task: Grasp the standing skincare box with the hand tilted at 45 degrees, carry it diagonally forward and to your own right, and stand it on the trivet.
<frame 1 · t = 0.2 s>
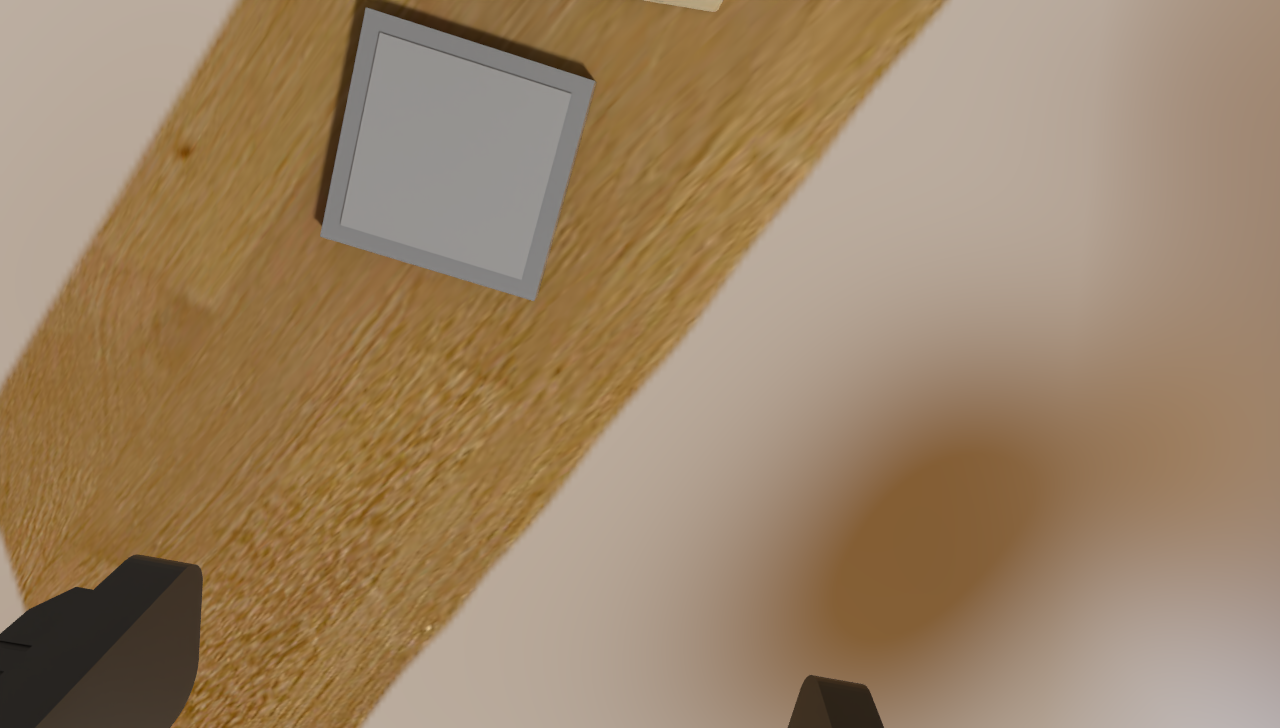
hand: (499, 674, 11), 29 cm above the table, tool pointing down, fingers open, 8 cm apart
trivet: (458, 160, 37), on the table
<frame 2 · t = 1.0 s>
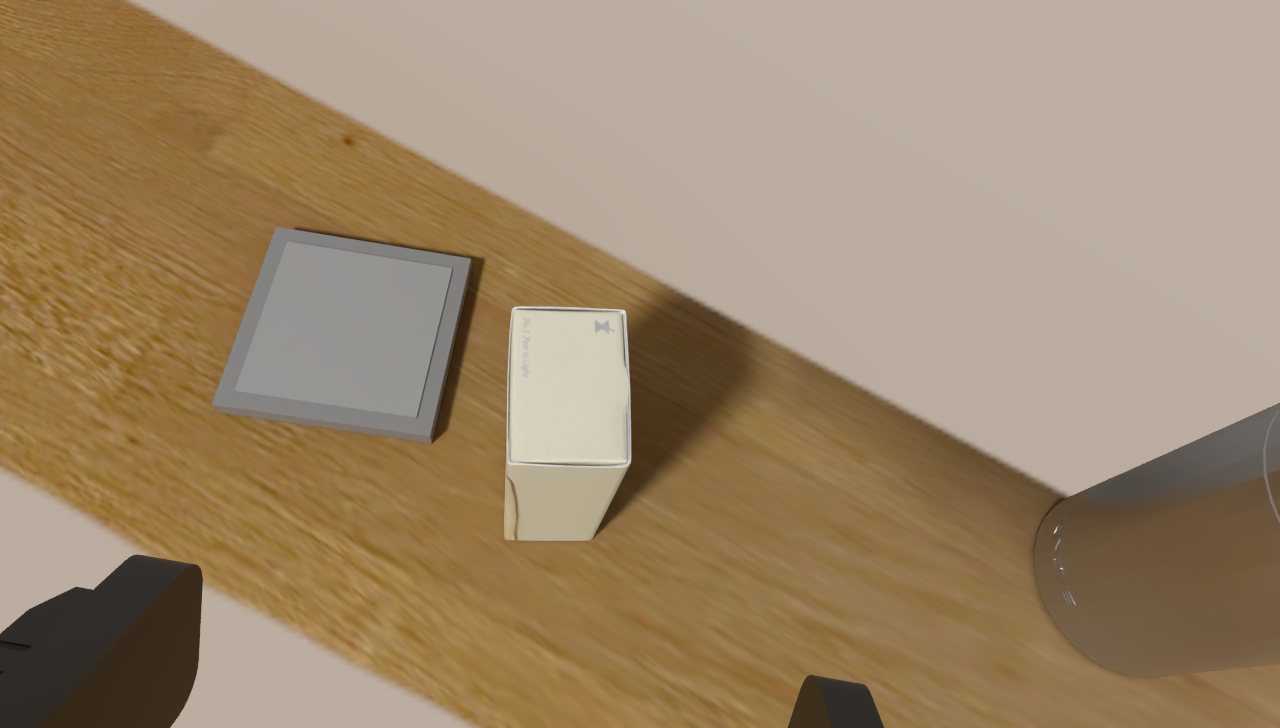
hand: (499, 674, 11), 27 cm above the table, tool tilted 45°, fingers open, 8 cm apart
trivet: (353, 336, 41), on the table
skincare box: (552, 482, 40), on the table
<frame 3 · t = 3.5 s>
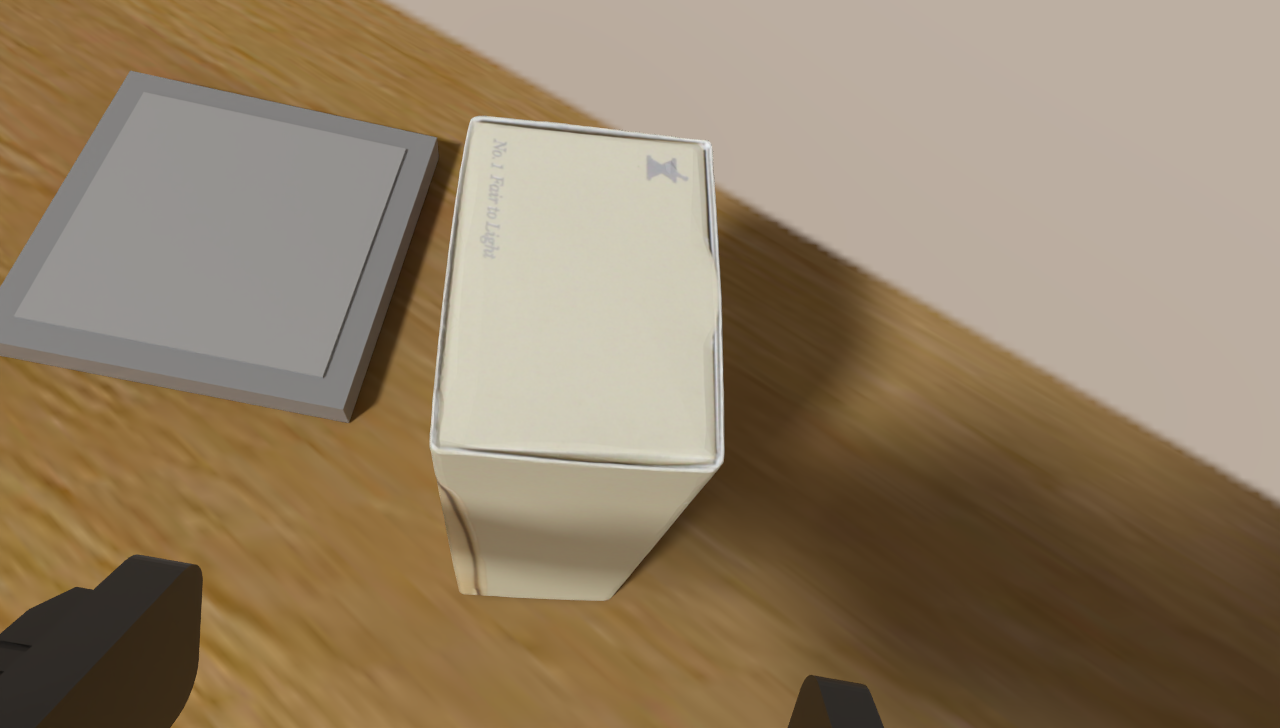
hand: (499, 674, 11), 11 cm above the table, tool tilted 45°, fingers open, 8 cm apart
trivet: (237, 245, 25), on the table
skincare box: (547, 497, 24), on the table
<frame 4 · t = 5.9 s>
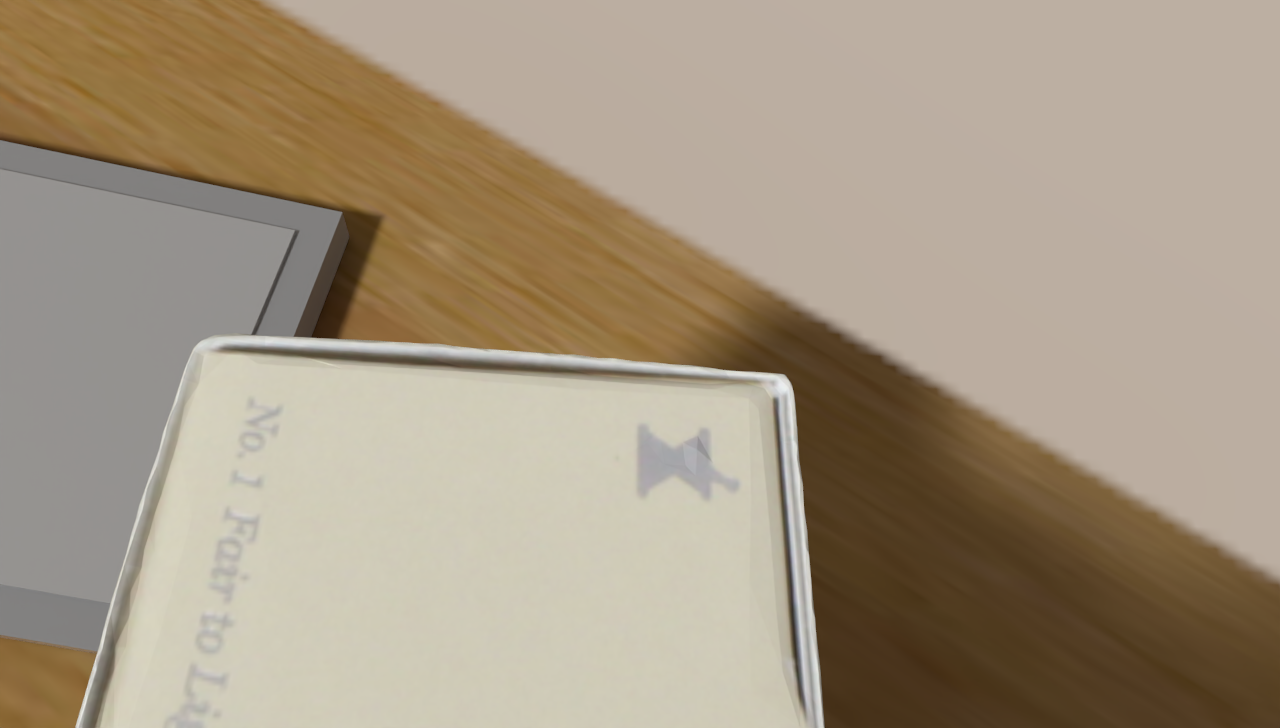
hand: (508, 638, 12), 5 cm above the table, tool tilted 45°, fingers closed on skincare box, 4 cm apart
trivet: (38, 379, 17), on the table
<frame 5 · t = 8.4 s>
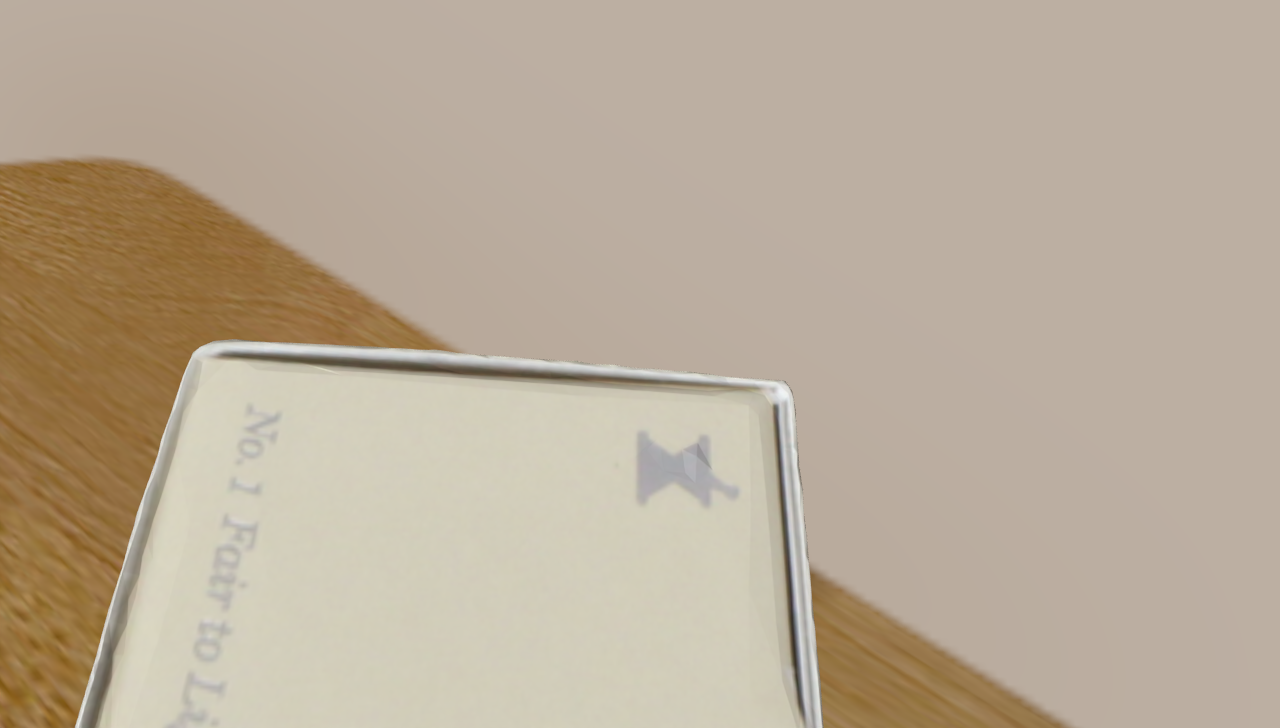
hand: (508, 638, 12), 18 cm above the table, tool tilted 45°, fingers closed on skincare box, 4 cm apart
when the fingers open (7 cm above the table, at t = 10.8 s): skincare box drops 1 cm, resting on trivet.
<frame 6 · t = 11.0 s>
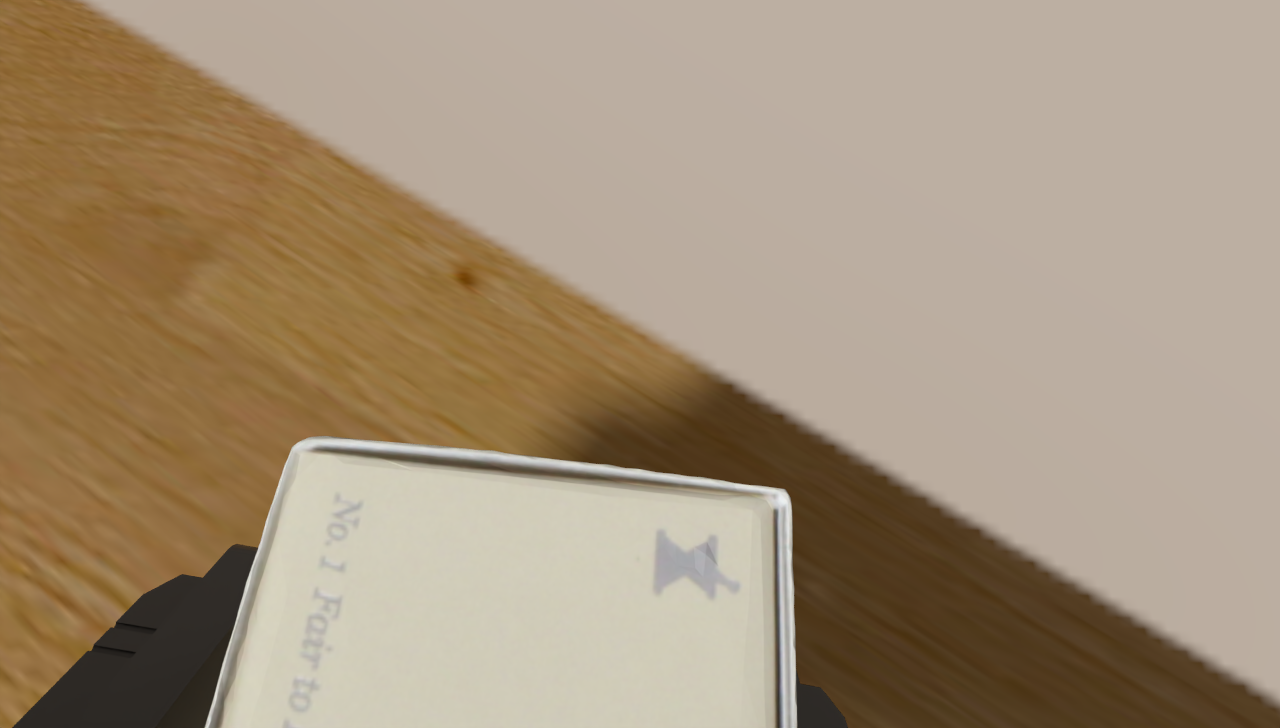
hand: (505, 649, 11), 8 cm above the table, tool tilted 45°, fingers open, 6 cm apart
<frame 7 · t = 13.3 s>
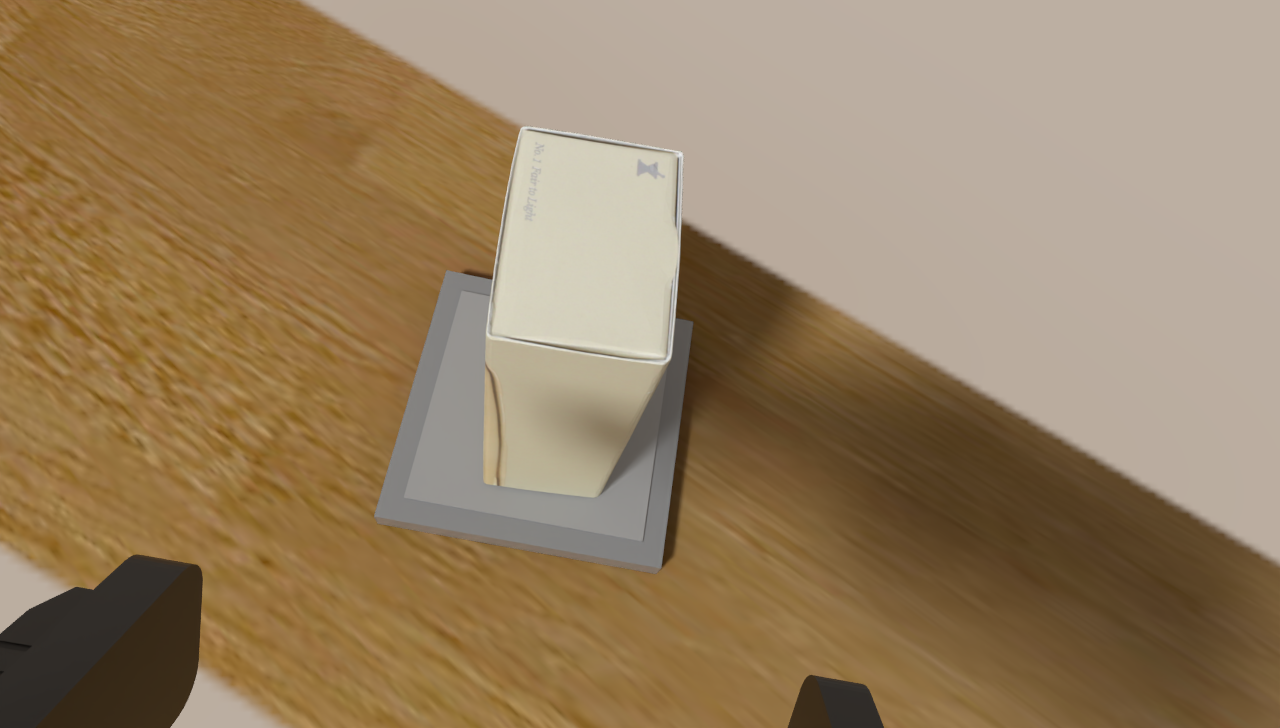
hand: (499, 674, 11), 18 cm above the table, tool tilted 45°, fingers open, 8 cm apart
trivet: (545, 420, 31), on the table
skincare box: (554, 419, 30), point 1 cm above the table, touching trivet
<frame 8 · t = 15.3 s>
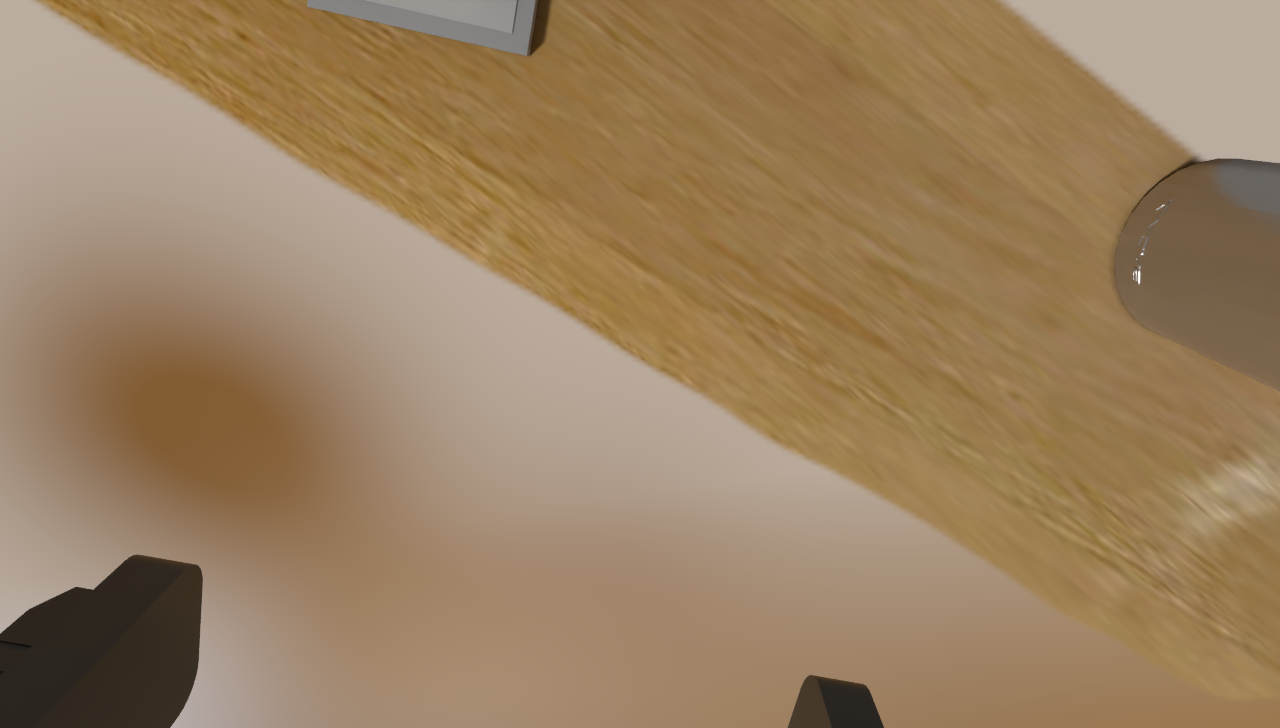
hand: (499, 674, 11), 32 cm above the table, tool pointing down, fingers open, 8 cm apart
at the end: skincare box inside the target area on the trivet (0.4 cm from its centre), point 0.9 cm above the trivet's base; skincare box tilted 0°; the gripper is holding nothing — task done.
